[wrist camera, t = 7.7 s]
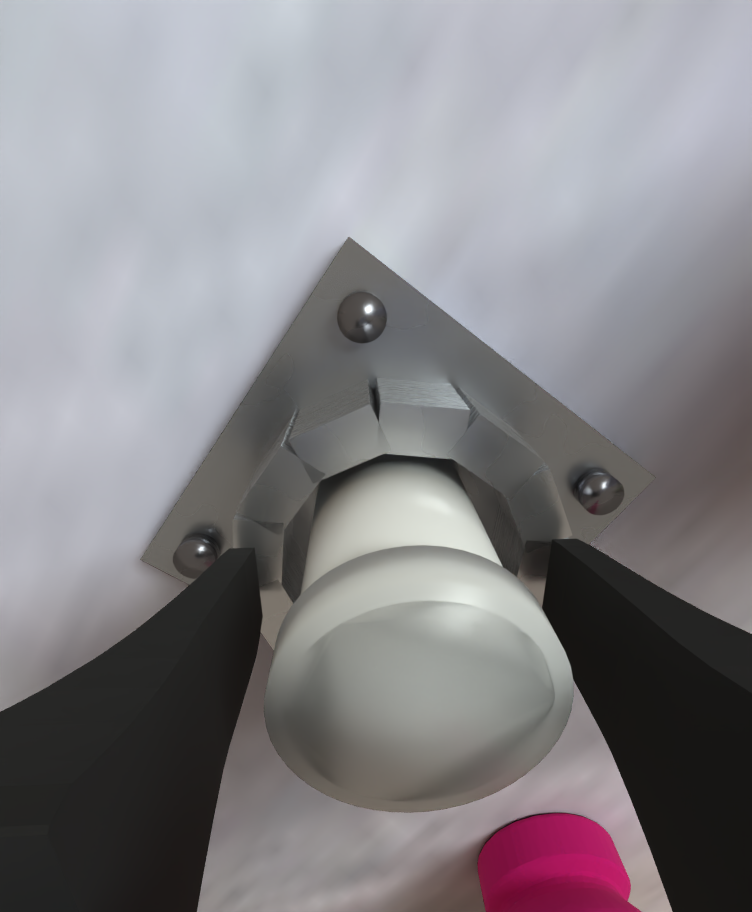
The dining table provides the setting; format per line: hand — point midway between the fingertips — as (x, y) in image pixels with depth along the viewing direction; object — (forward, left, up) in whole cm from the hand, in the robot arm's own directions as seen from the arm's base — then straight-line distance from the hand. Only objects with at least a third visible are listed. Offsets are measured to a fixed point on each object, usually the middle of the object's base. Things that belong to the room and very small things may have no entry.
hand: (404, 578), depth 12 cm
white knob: (0, 0, -3) cm, 3 cm away
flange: (0, 0, -4) cm, 4 cm away
